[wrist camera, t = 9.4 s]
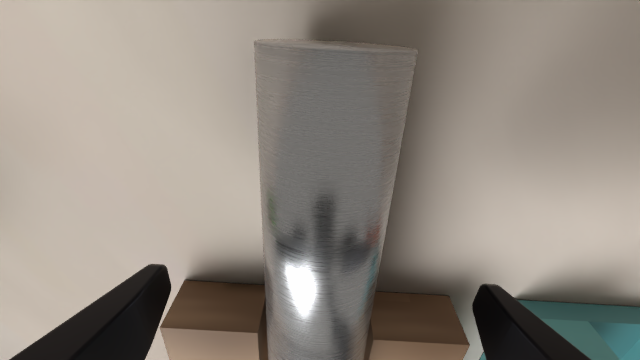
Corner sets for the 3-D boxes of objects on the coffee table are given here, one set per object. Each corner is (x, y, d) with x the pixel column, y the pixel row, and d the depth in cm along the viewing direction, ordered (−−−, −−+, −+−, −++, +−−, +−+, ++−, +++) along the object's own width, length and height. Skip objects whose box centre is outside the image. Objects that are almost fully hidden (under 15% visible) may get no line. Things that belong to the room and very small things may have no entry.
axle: (353, 341, 16) (362, 433, 12) (276, 337, 16) (262, 429, 12) (397, 44, 9) (442, 55, 6) (268, 37, 9) (234, 44, 6)
